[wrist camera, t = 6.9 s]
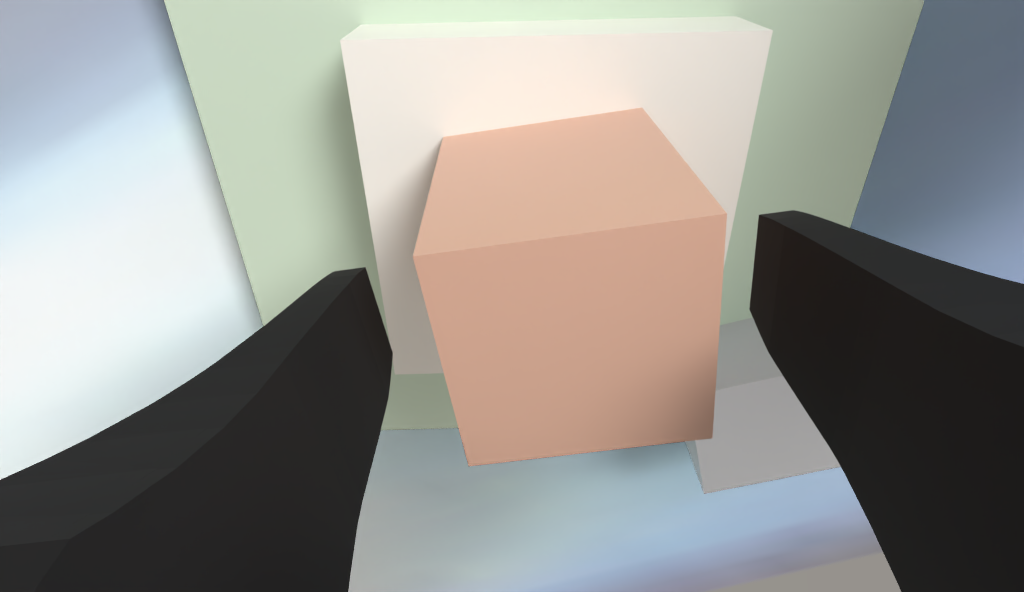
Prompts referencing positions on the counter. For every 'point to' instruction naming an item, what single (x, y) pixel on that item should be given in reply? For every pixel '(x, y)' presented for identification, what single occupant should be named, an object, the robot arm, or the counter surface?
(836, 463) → the grey brick
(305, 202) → the baseplate
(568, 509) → the counter surface
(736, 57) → the cream square slab
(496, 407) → the salmon pink block
